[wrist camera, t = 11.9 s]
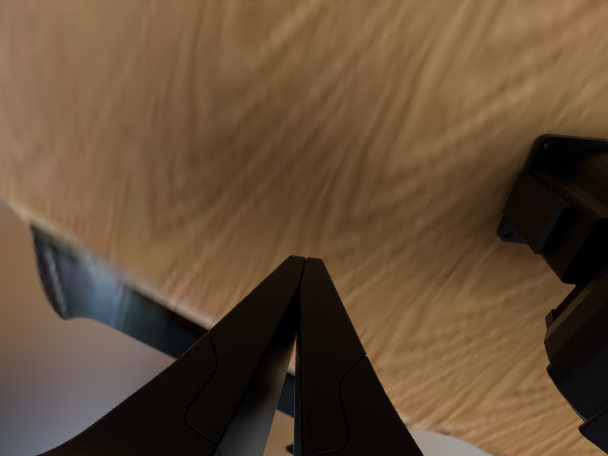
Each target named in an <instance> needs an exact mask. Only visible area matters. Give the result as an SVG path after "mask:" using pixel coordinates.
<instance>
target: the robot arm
mask: <svg viewBox="0 0 608 456" xmlns="http://www.w3.org/2000/svg"><path fill="white" fill-rule="evenodd" d="M549 141H551V144H550V146H549V147H547V148H544V145H545V144H546V143H547V142H549ZM503 214H504V216H503V218H502V221H501V223H500V225H499V228H498V230H497V235H498V236H499V238H500V239H501V240H502V241H506V242H515V243H524V244H527V245H528V246H529V247H530V249H531V250H532V251H533V252H534V254H536V255H541V256H542V257H543V259H544V260H545V261H546V262H547V264H548V265H549V266H550V267H551V269H552V270H553V271H554V272H555V274H556V275H557V276H558V277H559V279H560V280H561V281H562V282H563V283H567V284H575V285H576V287H575V288H574V289H573V290H572V291H571V292H570V294H569V295H568V296H567V297H566V298H565V299H564V300H563V302H562V303H561V304H560V305H559V306H558V307H557V308H556V309H555V310H554V309H553V310H551V311H550V312H549V313H548V315H547V316H546V317H545V320H546V326H547V332H546V335H545V339H544V344H545V348H546V352H547V355H548V359H549V361H550V364H549V365H548V366H547V368H546V369H547V372H548V375H549V377H550V378H551V380H552V381H553V383H554V384H555V386H556V388H557V389H558V391H559V392H560V394H561V395H562V396H563V397H564V398H565V400H566V401H567V402H568V403H569V405H570V406H571V407H572V408H573V410H574V411H575V412H576V413H577V414H578V415H579V416H580V417H581V418H582V419H583V420H584V423H583V424H582V425H580V426H579V431H580V433H581V434H582V435H583V436H584V437H585V438H587V439H588V440H589V441H591V442H592V443H593V444H595V445H596V446H597V447H599V448H600V449H601V450H603V451H604V452H605V453H607V454H608V139H600V138H588V137H577V136H565V135H553V134H547V135H543V136H541V137H540V138H539V139H538V140H537V141H536V143H535V145H534V147H533V150H532V152H531V154H530V157H529V159H528V161H527V163H526V166H525V168H524V170H523V172H522V173H520V174H519V175H518V178H517V180H516V182H515V185H514V187H513V189H512V192H511V194H510V196H509V198H508V201H507V203H506V205H505V208H504V210H503ZM507 231H510V232H509V233H508V234H505V235H504V233H505V232H507ZM296 335H297V337H296ZM295 340H296V363H295V408H294V452H293V456H423V454H422V452H421V450H420V449H419V447H418V446H417V444H416V442H415V441H414V439H413V437H412V436H411V434H410V433H409V431H408V429H407V428H406V426H405V425H404V423H403V421H402V420H401V418H400V416H399V415H398V413H397V411H396V410H395V408H394V406H393V405H392V403H391V401H390V399H389V398H388V396H387V394H386V393H385V391H384V389H383V387H382V385H381V383H380V381H379V379H378V377H377V375H376V373H375V371H374V369H373V367H372V365H371V363H370V360H369V358H368V357H367V356H366V352H365V350H364V348H363V346H362V344H361V341H360V339H359V337H358V335H357V333H356V331H355V329H354V327H353V324H352V322H351V320H350V318H349V316H348V314H347V312H346V309H345V307H344V305H343V303H342V301H341V299H340V297H339V294H338V292H337V290H336V288H335V286H334V284H333V282H332V279H331V277H330V275H329V273H328V271H327V269H326V267H325V264H324V262H323V260H322V259H318V258H310V257H308V258H307V259H305V257H302V256H293V255H291V256H289V257H288V258H287V259H286V260H285V261H284V262H283V263H282V264H281V265H279V266H278V267H277V268H276V269H275V270H274V271H273V272H272V273H271V274H270V275H269V276H268V277H267V278H265V279H264V280H263V281H262V282H261V283H260V284H259V285H258V286H257V287H256V288H255V289H254V290H253V291H251V292H250V293H249V294H248V295H247V296H246V297H245V298H244V299H243V300H242V301H241V302H240V303H239V304H237V305H236V306H235V307H234V308H233V309H232V310H231V311H230V312H229V313H228V314H227V315H226V316H224V317H223V318H222V319H221V320H220V321H219V322H218V323H217V324H216V325H215V326H214V327H213V328H212V329H210V330H209V331H208V334H205V335H204V336H203V337H202V338H201V339H199V340H198V341H197V342H196V343H195V344H194V345H193V346H192V347H191V348H190V349H188V350H187V351H186V352H185V353H184V354H183V355H182V356H180V357H179V358H178V359H177V360H176V361H175V362H173V363H172V364H171V365H170V366H168V367H167V368H166V369H165V370H163V371H162V372H161V373H159V375H157V376H156V377H155V378H153V379H152V380H151V381H150V382H148V383H147V384H146V385H144V386H143V387H141V388H140V389H139V390H137V391H136V392H135V393H133V394H132V395H131V396H129V397H128V398H127V399H125V400H124V401H123V402H122V403H120V404H119V405H118V406H116V407H115V408H114V409H112V410H111V411H110V412H109V413H107V414H106V415H104V416H103V417H102V418H101V419H99V420H98V421H97V422H95V423H94V424H92V425H91V426H90V427H88V428H87V429H85V430H84V431H83V432H81V433H80V434H78V435H76V436H75V437H73V438H72V439H70V440H68V441H66V442H65V443H63V444H61V445H59V446H57V447H55V448H53V449H51V450H49V451H47V452H45V453H42V454H39V455H37V456H263V453H264V450H265V446H266V443H267V439H268V436H269V432H270V428H271V425H272V422H273V418H274V415H275V411H276V408H277V404H278V401H279V397H280V394H281V390H282V387H283V383H284V380H285V376H286V373H287V369H288V366H289V362H290V359H291V355H292V352H293V348H294V344H295Z"/></svg>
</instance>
